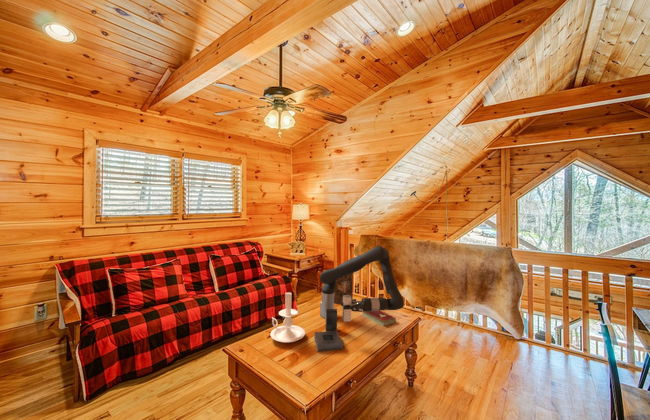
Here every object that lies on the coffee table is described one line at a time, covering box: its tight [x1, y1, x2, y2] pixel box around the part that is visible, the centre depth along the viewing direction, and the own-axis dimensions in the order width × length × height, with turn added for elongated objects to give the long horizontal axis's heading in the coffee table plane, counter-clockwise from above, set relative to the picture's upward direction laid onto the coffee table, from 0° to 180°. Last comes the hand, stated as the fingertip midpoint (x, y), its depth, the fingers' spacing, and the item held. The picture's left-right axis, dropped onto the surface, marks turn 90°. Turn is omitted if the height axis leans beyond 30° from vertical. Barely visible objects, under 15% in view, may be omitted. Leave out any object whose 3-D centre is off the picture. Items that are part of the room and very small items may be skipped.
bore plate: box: [313, 330, 344, 353], centre depth 157 cm, size 14×14×4 cm
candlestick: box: [270, 292, 306, 344], centre depth 164 cm, size 21×25×28 cm
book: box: [334, 273, 354, 305], centre depth 220 cm, size 16×6×25 cm, turn 84°
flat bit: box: [324, 308, 338, 332], centre depth 174 cm, size 7×2×14 cm, turn 100°
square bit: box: [342, 295, 352, 322], centre depth 159 cm, size 4×4×14 cm
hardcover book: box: [361, 310, 397, 327], centre depth 192 cm, size 12×21×4 cm, turn 36°
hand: (342, 305), depth 158 cm, fingers closed on square bit, 4 cm apart
